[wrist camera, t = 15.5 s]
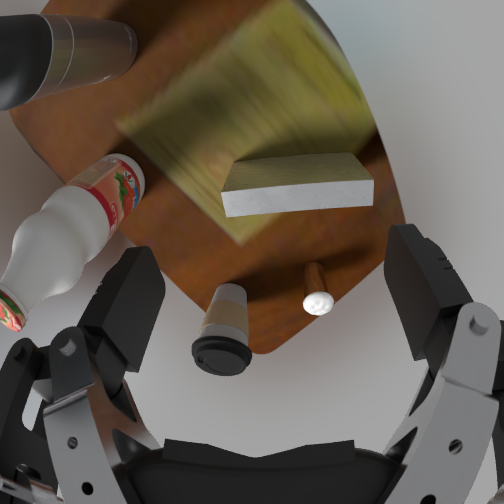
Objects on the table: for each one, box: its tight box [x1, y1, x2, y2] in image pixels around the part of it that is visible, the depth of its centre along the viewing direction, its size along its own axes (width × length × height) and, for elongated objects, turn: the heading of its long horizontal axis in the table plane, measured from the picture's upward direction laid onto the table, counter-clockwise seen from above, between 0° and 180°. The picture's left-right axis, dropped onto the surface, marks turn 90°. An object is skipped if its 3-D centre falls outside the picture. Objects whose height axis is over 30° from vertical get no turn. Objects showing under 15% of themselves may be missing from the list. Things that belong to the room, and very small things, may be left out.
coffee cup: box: [192, 283, 252, 376], centre depth 46 cm, size 9×9×15 cm
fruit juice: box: [0, 154, 145, 332], centre depth 28 cm, size 9×9×28 cm
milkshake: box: [303, 261, 337, 315], centre depth 43 cm, size 4×5×10 cm
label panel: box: [221, 152, 374, 217], centre depth 33 cm, size 16×3×10 cm, turn 99°
